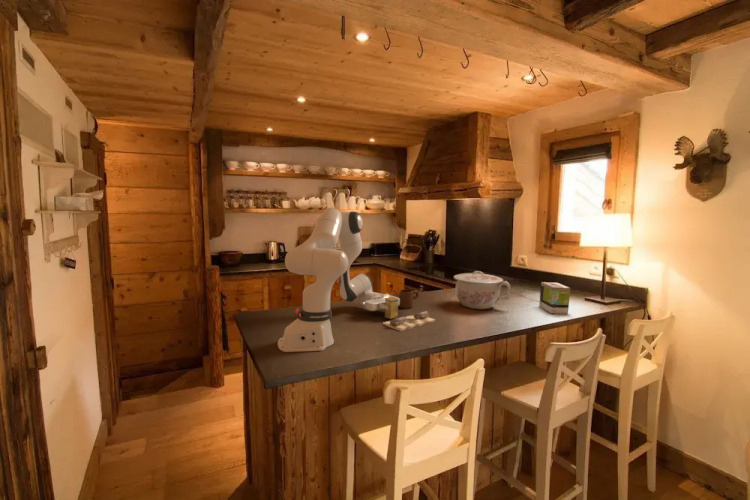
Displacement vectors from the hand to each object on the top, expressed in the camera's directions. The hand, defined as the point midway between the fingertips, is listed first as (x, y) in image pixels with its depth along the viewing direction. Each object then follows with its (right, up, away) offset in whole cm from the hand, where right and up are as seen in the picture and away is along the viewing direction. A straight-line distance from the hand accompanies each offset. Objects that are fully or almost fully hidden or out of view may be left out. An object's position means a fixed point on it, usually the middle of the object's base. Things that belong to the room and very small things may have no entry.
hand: (392, 306), depth 185 cm
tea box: (+91, -6, +24) cm, 95 cm away
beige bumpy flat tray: (+8, -7, -5) cm, 12 cm away
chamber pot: (+50, -4, +28) cm, 57 cm away
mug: (+10, -4, +25) cm, 27 cm away
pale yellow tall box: (-1, -5, +1) cm, 6 cm away
